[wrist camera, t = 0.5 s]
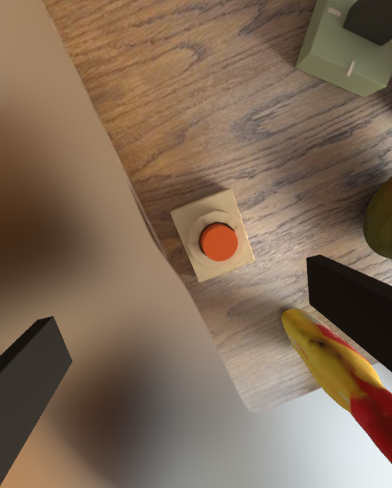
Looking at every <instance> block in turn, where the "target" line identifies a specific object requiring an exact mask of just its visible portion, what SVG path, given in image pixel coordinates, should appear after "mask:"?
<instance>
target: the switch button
mask: <svg viewBox="0 0 392 488" xmlns="http://www.w3.org/2000/svg"><path fill="white" fill-rule="evenodd" d="M201 246H202V249H203V250H204V252H205V254H206V255H207V257H209V258H210V259H212V260H214V261H225V260H228V259H229V258H231V257H232V256H233V255H234V254H235V252H236V250H237V247H238V239H237V236H236V234H235V233H234V231H232V230H231V229H230V228H228V227H227V226H225V225H222V224H213V225H210V226H209V227H207V228H206V229H205V230H204V231H203V233H202V235H201Z"/></svg>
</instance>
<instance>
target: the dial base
mask: <svg viewBox="0 0 392 488" xmlns="http://www.w3.org/2000/svg"><path fill="white" fill-rule="evenodd" d="M356 1H357V0H317V1H316V4H315V7H314V11H313V14H312V17H311V20H310V23H309V26H308V29H307V32H306V35H305V38H304V41H303V44H302V47H301V50H300V53H299V56H298V59H297V62H296V65H295V68H296V69H299V70H301V71H303V72H306V73H308V74H310V75H313V76H315V77H317V78H320V79H322V80H324V81H327V82H329V83H331V84H334V85H336V86H338V87H341V88H343V89H346V90H348V91H350V92H353V93H355V94H357V95H360V96H362V97H366V96H368V95H370V94H372V93H374V92H376V91H378V90H380V89H383V88H385V87H386V86H387V84H388V82H389V79H390V77H391V75H392V40H390V41H389V42H387V43H386V44H384V45H383V46H380V45H378V44H375V43H373V42H371V41H369V40H367V39H365V38H363V37H361V36H359V35H357V34H355V33H352V32H350V31H348V30H346V29H344V28H343V26H344V23H345V20H346V17H347V14H348V12H349V9H350V7H351V6H352V5H353V4H354V3H355V2H356Z"/></svg>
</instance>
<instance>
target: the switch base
mask: <svg viewBox="0 0 392 488" xmlns="http://www.w3.org/2000/svg"><path fill="white" fill-rule="evenodd" d="M170 214H171V216H172V219H173V221H174V223H175V226H176V228H177V231H178V233H179V235H180V238H181V240H182V243H183V245H184V247H185V250H186V252H187V255H188V257H189V259H190V262H191V264H192V267H193V269H194V271H195V274H196V276H197V279H198V281H199V283H201V282H203V281H206V280H208V279H211V278H213V277H216V276H218V275H221V274H223V273H226V272H228V271H231V270H233V269H235V268H238V267H240V266H243V265H245V264H248V263H250V262H253V261H255V258H254V255H253V252H252V249H251V246H250V243H249V240H248V237H247V234H246V231H245V228H244V225H243V222H242V219H241V216H240V213H239V210H238V206H237V203H236V200H235V197H234V194H233V191H232V188H227V189H224V190H222V191H219V192H217V193H214V194H212V195H209V196H207V197H204V198H202V199H199V200H197V201H194V202H192V203H189V204H187V205H184V206H182V207H179V208H177V209H174V210H172V211H170ZM213 224H222V225H225V226H227V227H228V228H230V229H231V230H232V231H234V233H235V234H236V236H237V239H238V247H237V250H236V252H235V254H234V255H233V256H232V257H231V258H229V259H228V260H225V261H214V260H212V259H210V258H209V257H207V255H206V254H205V252H204V250H203V249H202V246H201V235H202V233H203V231H204V230H205V229H206V228H207V227H209V226H210V225H213Z"/></svg>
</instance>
